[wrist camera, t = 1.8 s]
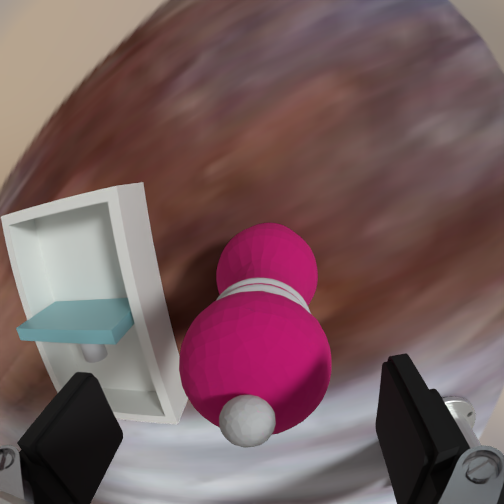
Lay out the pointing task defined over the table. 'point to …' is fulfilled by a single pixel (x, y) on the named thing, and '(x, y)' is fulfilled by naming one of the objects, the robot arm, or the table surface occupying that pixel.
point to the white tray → (101, 294)
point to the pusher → (81, 325)
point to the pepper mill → (258, 339)
